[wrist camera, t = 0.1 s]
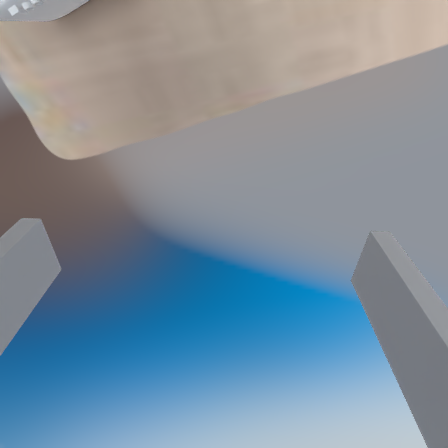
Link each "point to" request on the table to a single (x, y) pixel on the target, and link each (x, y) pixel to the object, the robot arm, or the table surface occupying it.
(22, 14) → the cable organizer
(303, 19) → the table surface
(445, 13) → the table surface
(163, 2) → the table surface
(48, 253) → the robot arm
